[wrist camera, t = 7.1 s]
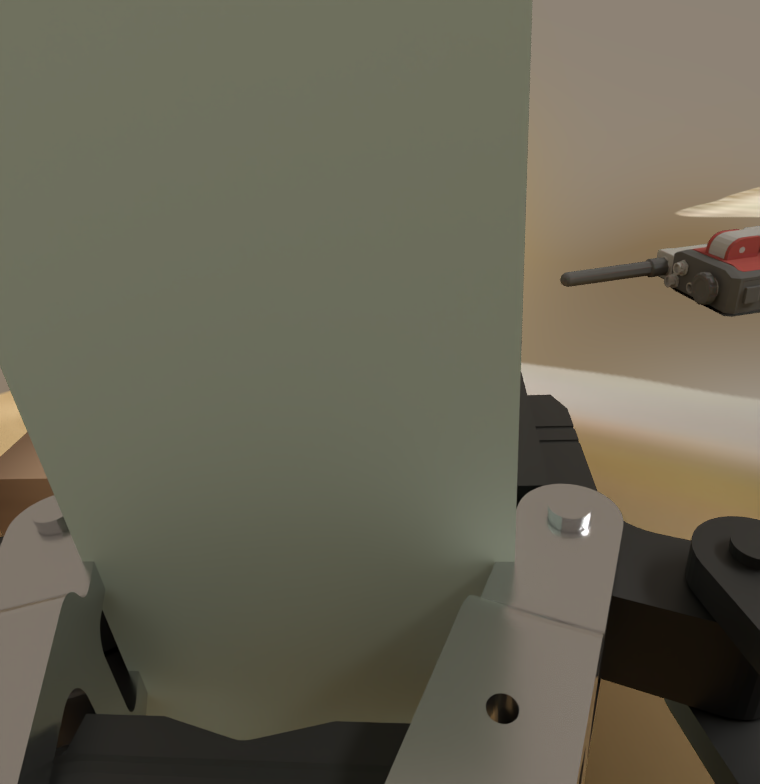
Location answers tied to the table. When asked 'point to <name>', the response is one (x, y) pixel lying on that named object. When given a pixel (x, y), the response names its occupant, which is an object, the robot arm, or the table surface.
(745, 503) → the table surface
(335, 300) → the pillar
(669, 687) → the robot arm
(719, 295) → the walkie-talkie
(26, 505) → the plinth
